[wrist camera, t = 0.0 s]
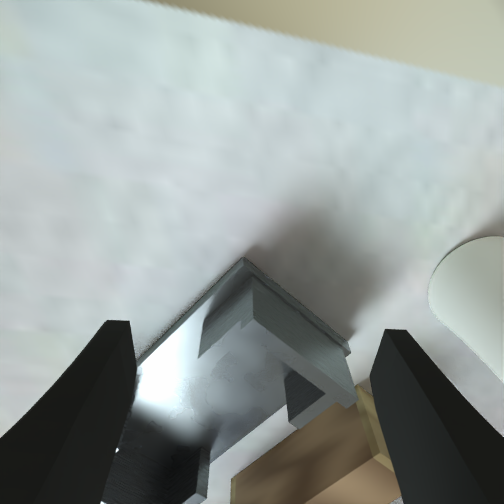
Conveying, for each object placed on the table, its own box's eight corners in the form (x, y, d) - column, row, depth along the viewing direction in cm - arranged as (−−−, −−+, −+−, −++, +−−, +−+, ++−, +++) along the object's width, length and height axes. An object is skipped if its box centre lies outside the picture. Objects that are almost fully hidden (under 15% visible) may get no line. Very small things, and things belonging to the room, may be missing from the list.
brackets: (182, 473, 30) (171, 548, 25) (81, 415, 27) (49, 487, 23) (347, 341, 25) (369, 405, 21) (243, 256, 23) (242, 308, 18)
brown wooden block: (267, 500, 31) (270, 576, 27) (231, 479, 30) (228, 553, 26) (393, 412, 28) (422, 483, 23) (357, 384, 27) (380, 452, 22)
